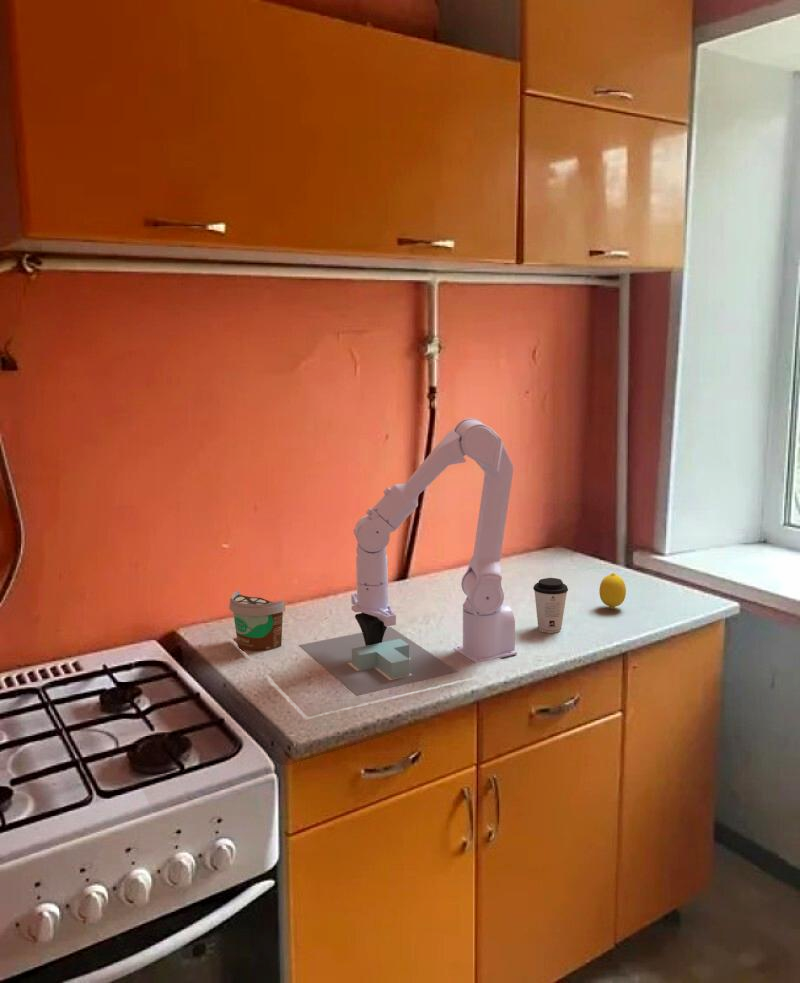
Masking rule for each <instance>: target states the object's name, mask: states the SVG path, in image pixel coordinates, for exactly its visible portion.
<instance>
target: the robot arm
mask: <svg viewBox="0 0 800 983" xmlns="http://www.w3.org/2000/svg"><path fill="white" fill-rule="evenodd" d="M464 456H467V457H468V458H470V459H472V460H473V461H474V462H475V463H476V464H477V465H478V467H479V468H481V470H482V471H483V472H484V474H483V475H484V478H483V484H482V491H481V496H480V497H481V498H480V504H479V511H478V512H479V513H478V518H477V519H478V520H477V527H476V533H475V539H474V540H475V542H474V547H473V555H472V556H471V558H470V560H469V562H468V567H467V570H466V571H465V573H464V575H463V576H462V578H461V582H460V583H461V590H462V592H463V594H465V595H466V598H465V600H464V603H463V604H462V645H459V646H453V650H455V651H457V652H458V653H460V654H461V655H462V656H464V657H466V658H468V659H469V660H470V661H472V662H474V663H479V662H484V661H487V660H492V659H497V658H498V659H501V658H505V657H506V658H507V657H510V656H511V657H512V656H514V655H517V654H518V651H517V650H516V649H515V648H516V647H515V646H516V644H515V643H516V618H515V614H514V612H513V610H512V608H511V607H510V606H509V605H508V604H505V603H504V599H505V593H504V589H503V587H502V579H503V576H502V566H501V558H502V551H503V550H502V549H503V544H504V543H503V542H504V536H505V529H506V523H507V522H506V521H507V515H508V510H509V509H508V507H509V502H510V496H511V495H510V494H511V488H512V481H513V475H514V465H513V463H512V460H511V458H510V456H509V454H508V451H507V450H506V448H505V445H504V443H503V439H502V437H501V436H499V434H498V433H497V432H495V430H494V429H493V428H491V427H490V426H489V425H486V424H484V422H481V421H480V420H479V419H476V418H474V417H473V418H472V417H471V418H464V419H462V420H461V421H459V422H458V423H457V424H456V425H455V427H454V430H453V429H451V430H450V431H449V432H447V433H446V435H444V437H443V438H442V439H441V440H440V442H439V443H438V444H436V446H435V447H434V449H433V450H431V452H430V453H429V454H428V455H427V457H425V459H424V460H423V462H422V463H421V464H419V466H418V467H417V469H416V470H415V471H414V472H413V473H412V474H411V475H410V477H409V478H408V479H407V480H406V481H405V483H397V484H393V485H392V487H391V488H390V487H389V486H388V487H386V488H385V489H384V490H383V493H384V495H383V497H382V498H380V500H379V501H378V502H377V503H376V504H375V505H374V506H373V507H372V508H368V509H367V510H366V511H365V513H366V515H363V516H362V517H360V518H359V519H358V520H357V522H356V523H355V527H354V529H353V533H354V536H355V538H356V542H357V543H356V544H357V545H356V557H355V561H356V563H355V564H356V565H355V566H356V567H355V568H356V569H355V571H356V593H355V592H354V593H351V599H350V601H351V604H352V606H351V611H352V612H354V613H356V614H355V615H354V618H355V620H356V621H357V623H358V625H359V627H360V631H361V633H363V637H364V641H365V645H366V646H367V645H372V644H377V643H382V640H383V636H384V633H385V631H386V628H387V627H392V626H396V625H397V614H395V613H394V612H393V610H392V607H391V604H390V602H389V577H388V576H389V572H388V571H389V569H388V568H389V567H388V564H389V563H388V562H389V561H388V556H387V546H388V544H389V542H390V539H391V533H393V532H395V531H396V530H398V528H399V527H400V526H401V525H402V524H403V523H404V522H405V521H406V519H407V518H408V517H409V516H410V515H411V514H412V513H413V512H414V511H415V510H416V509H417V507H418V506H419V499H418V498H419V496H420V494H421V493H422V492H424V491H425V490H426V488H427V487H429V485H431V484H432V483H433V481H435V480H436V478H438V477H439V476H440V475H441V474H442V473H443V472H444V471H445V470H446V469H447V468H448V467H449V466H451V465H457V464H463V463H467V459H466V457H464Z"/></svg>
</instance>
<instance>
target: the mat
mask: <svg viewBox="0 0 800 983" xmlns="http://www.w3.org/2000/svg"><path fill="white" fill-rule="evenodd" d="M396 639H401V640H403V641H404V642H406V643H407V644H409V676H404V677H400V678H395V679H391V678H390V677H388V676H387V675H386V674H384V673H383V672H382V671H380V670H379V669H378V668H377V667H376V668H372V669H367V670H363V671H360V670H358V669H357V668H356V667H355V666H353V665H352V649H353V648H358V647H363V646H366V645H365V641H364V637H363V633H362V632H357V633H352V634H347V635H342V636H336V637H333V638H328V639H322V640H317V641H313V642H312V641H311V642H307V643H302V644H299V645H298V647H300V648H301V649H302V650H303V651H305V652H306V653H307V654H308V655H309V656H310V657H312V659H314V661H316V662H317V663H318V664H319V665H320V666H322V667H323V668H324V669H325V670H326V671H327V672H329V673H330V674H331V675H332V676H333V677H334V678H336V679H337V680H338V681H339V682H340V683H341V684H342V685H344V686H345V687H346V688H347V689H348V690H349V691H351V693H353V694H354V695H355V696H360V695H361V696H362V695H365V694H369V693H374V692H378V691H383V690H386V689H390V688H391V689H392V688H395V687H400V686H404V685H408V684H412V683H416V682H421V681H425V680H430V679H433V678H437V677H441V676H447V675H451V674H455V673H458V670H456V669H455V668H453V667H452V666H450V665H449V664H447V663H446V662H444V661H443V660H441V659H439V658H438V657H437V656H436V655H434V654H432V653H431V652H429V651H428V650H426V649H425V648H423V647H422V646H420V644H418V643H416V642H414V641H412V640H411V639H409V638H408V637H407V636H405V635H404V634H402V633H401V632H399V631H398V630H396V629H395V628H393V627H392V626H388V627H387V628H386V631H385V633H384V636H383V640H382V642H387V641H392V640H396Z"/></svg>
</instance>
